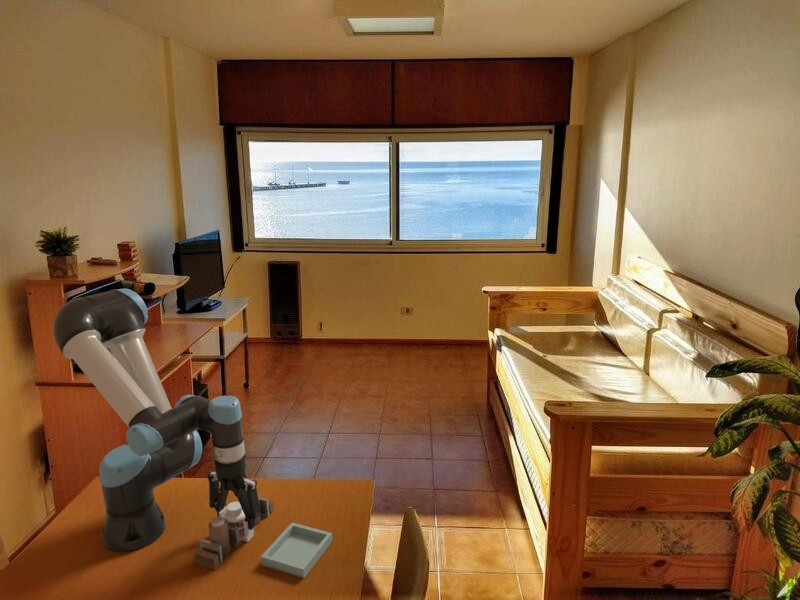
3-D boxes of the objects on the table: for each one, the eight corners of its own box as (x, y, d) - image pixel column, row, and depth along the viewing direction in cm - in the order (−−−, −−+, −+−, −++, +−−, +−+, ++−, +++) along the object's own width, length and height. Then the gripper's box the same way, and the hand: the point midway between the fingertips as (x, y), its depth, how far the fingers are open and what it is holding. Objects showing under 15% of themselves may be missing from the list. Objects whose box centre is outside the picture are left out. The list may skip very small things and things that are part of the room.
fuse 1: (207, 554, 144) (204, 524, 142) (219, 543, 148) (216, 513, 146) (222, 559, 142) (219, 528, 140) (234, 547, 147) (231, 517, 144)
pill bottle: (241, 543, 148) (238, 513, 146) (223, 540, 149) (220, 511, 147) (251, 530, 153) (248, 501, 151) (232, 527, 154) (229, 498, 152)
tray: (261, 565, 140) (260, 556, 140) (292, 530, 153) (292, 522, 152) (304, 578, 136) (303, 569, 135) (332, 541, 148) (332, 533, 148)
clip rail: (195, 563, 141) (193, 546, 140) (256, 506, 163) (254, 490, 162) (215, 569, 139) (213, 552, 138) (273, 510, 161) (272, 495, 160)
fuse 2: (239, 523, 156) (237, 495, 153) (250, 514, 160) (247, 486, 158) (254, 527, 154) (251, 499, 152) (264, 517, 158) (261, 489, 156)
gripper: (187, 456, 145) (197, 534, 151) (253, 472, 138) (260, 553, 144) (207, 442, 152) (216, 518, 158) (271, 456, 145) (277, 535, 151)
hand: (237, 534), depth 151 cm, fingers open, 7 cm apart
